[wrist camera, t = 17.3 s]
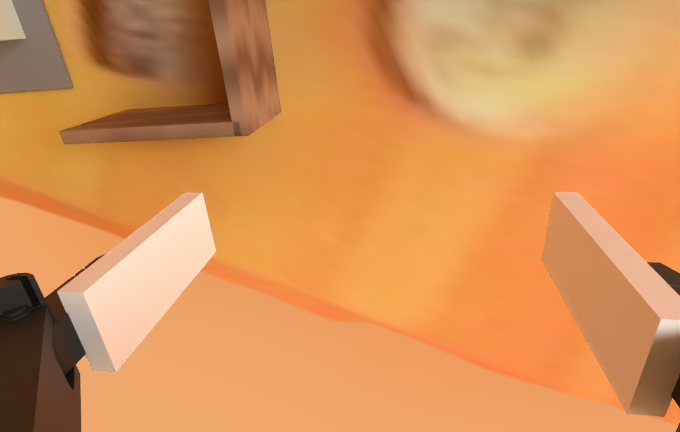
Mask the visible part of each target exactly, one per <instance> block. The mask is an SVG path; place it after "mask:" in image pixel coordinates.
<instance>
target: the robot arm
mask: <svg viewBox="0 0 680 432" xmlns="http://www.w3.org/2000/svg"><path fill="white" fill-rule="evenodd" d="M215 252H216V249H215V245H214V240H213V236H212V232H211V227H210V223H209V219H208V214H207V210H206V206H205V201H204V197H203V193H202V192H185V193H183V194H182V195H181V196H180V197H178V198H177V199H176V200H174V201H173V202H172V203H171V204H169V205H168V206H167V207H165V208H164V209H163V210H162V211H160V212H159V213H158V214H156V215H155V216H154V217H153V218H151V219H150V220H149V221H147V222H146V223H145V224H143V225H142V226H141V227H140V228H138V229H137V230H136V231H134V232H133V233H132V234H131V235H129V236H128V237H127V238H125V239H124V240H123V241H122V242H120V243H119V244H118V245H116V246H115V247H114V248H113V249H111V250H110V251H109V252H107V253H106V254H104V255H102V256H100V257H98V258H96V259H95V260H94V261H92V262H91V263H90V264H89V265H87V266H86V267H85V269H82V270H81V271H79V272H78V273H77V274H76V275H75V276H73V277H72V278H70V279H69V280H67V281H66V282H65V283H64V284H62V285H61V286H60V287H58V288H57V289H56V290H54V291H53V292H52V293H51V294H49V295H48V296H47V297H45V298H44V297H43V294H42V293H41V290H40V288H39V286H38V284H37V282H36V280H35V277H34V275H32V274H29V273H17V274H12V275H8V276H5V277H2V278H0V432H81V399H80V398H81V396H80V395H81V394H80V373H79V370H78V368H77V366H76V363H77V362H78V361H79V360H80V359H81V358H82V357H83V356H84V355H86V357H87V359H88V361H89V364H90V366H91V368H92V370H96V371H109V372H117V371H118V369H119V368H120V367H121V366H122V365H123V363H124V362H125V361H126V360H127V359H128V357H129V356H130V355H131V354H132V353H133V351H134V350H135V349H136V348H137V346H138V345H139V344H140V343H141V342H142V340H143V339H144V338H145V337H146V336H147V334H148V333H149V332H150V331H151V330H152V328H153V327H154V326H155V325H156V323H157V322H158V321H159V320H160V319H161V318H162V316H163V315H164V314H165V313H166V311H167V310H168V309H169V308H170V307H171V305H172V304H173V303H174V302H175V301H176V299H177V298H178V297H179V296H180V295H181V293H182V292H183V291H184V290H185V289H186V287H187V286H188V285H189V284H190V282H191V281H192V280H193V279H194V278H195V276H196V275H197V274H198V273H199V272H200V270H201V269H202V268H203V267H204V266H205V264H206V263H207V262H208V261H209V260H210V258H211V257H212V256H213V255H214V253H215ZM542 261H543V263H544V265H545V267H546V269H547V270H548V272H549V274H550V276H551V278H552V279H553V281H554V283H555V285H556V287H557V288H558V290H559V292H560V294H561V296H562V298H563V299H564V301H565V303H566V305H567V307H568V308H569V310H570V312H571V314H572V316H573V317H574V319H575V321H576V323H577V325H578V326H579V328H580V330H581V332H582V334H583V335H584V337H585V339H586V341H587V343H588V344H589V346H590V348H591V350H592V352H593V353H594V355H595V357H596V359H597V361H598V362H599V364H600V366H601V368H602V370H603V371H604V373H605V375H606V377H607V379H608V380H609V382H610V384H611V386H612V388H613V389H614V391H615V393H616V395H617V397H618V398H619V400H620V402H621V404H622V406H623V407H624V409H625V411H626V413H627V414H637V415H649V416H661V417H664V416H665V414H666V412H667V409H668V407H669V404H670V402H671V400H672V397H673V399H674V400H675V402H676V403H677V405H678V406H679V407H680V273H678V272H676V271H674V270H672V269H671V268H669V267H667V266H665V265H663V264H661V263H652V262H646V261H645V260H644V259H643V258H642V257H641V256H640V255H639V254H638V253H637V252H636V251H635V250H634V249H633V248H632V247H631V246H630V245H629V244H628V243H627V242H626V241H625V240H624V239H623V238H622V237H621V236H620V235H619V234H618V233H617V232H616V231H615V230H614V229H613V228H612V227H611V225H610V224H609V223H608V222H607V221H606V220H605V219H604V218H603V217H602V216H601V215H600V214H599V213H598V212H597V211H596V210H595V209H594V208H593V207H592V206H591V205H590V204H589V203H588V202H587V201H586V200H585V199H584V198H583V197H582V196H581V195H580V194H579V193H578V192H554V193H553V199H552V204H551V210H550V215H549V221H548V226H547V232H546V237H545V243H544V249H543V254H542ZM676 432H680V423H679V426H678V428H677V430H676Z"/></svg>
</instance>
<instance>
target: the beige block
mask: <svg viewBox="0 0 680 432" xmlns="http://www.w3.org/2000/svg"><path fill="white" fill-rule="evenodd" d="M18 39H26V37H25V34H24V31H23V29H22V26H21V24H20V21H19V18H18V16H17V13H16V10H15V8H14V5H13V3H12V0H0V41H8V40H18Z"/></svg>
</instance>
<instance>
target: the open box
mask: <svg viewBox="0 0 680 432" xmlns="http://www.w3.org/2000/svg"><path fill="white" fill-rule="evenodd" d="M208 2H209V7H210V12H211V17H212V23H213V28H214V33H215V38H216V43H217V48H218V53H219V58H220V63H221V68H222V73H223V78H224V83H225V88H226V93H227V98H228V103H227V104H212V105H196V106H180V107H164V108H148V109H132V110H125V111H122V112H119V113H116V114H113V115H110V116H107V117H103V118H100V119H97V120H94V121H91V122H88V123H84V124H81V125H78V126H75V127H72V128H69V129H66V130H62V131H59V132H60V135H61V137H62V140H63V142H64V144H84V143H105V142H125V141H146V140H166V139H187V138H208V137H228V136H248V135H250V134H251V133H253V132H254V131H255V130H257V129H258V128H259V127H261V126H262V125H264V124H265V123H266V122H268V121H269V120H270V119H272V118H273V117H275V116H276V115H277V114H279V113H280V112H281V107H280V101H279V94H278V87H277V80H276V73H275V66H274V59H273V52H272V45H271V38H270V31H269V24H268V17H267V10H266V3H265V0H208Z"/></svg>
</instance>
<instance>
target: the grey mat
mask: <svg viewBox="0 0 680 432" xmlns="http://www.w3.org/2000/svg"><path fill="white" fill-rule="evenodd" d="M12 3H13V5H14V8H15V10H16V13H17V16H18V18H19V21H20V24H21V26H22V29H23V31H24V34H25V37H26V39H18V40H8V41H0V93H10V92H23V91H37V90H50V89H63V88H73V84H72V82H71V79H70V76H69V73H68V70H67V67H66V65H65V62H64V59H63V56H62V53H61V50H60V48H59V45H58V42H57V39H56V36H55V33H54V31H53V28H52V25H51V22H50V19H49V16H48V14H47V11H46V8H45V5H44V2H43V0H12Z"/></svg>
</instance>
